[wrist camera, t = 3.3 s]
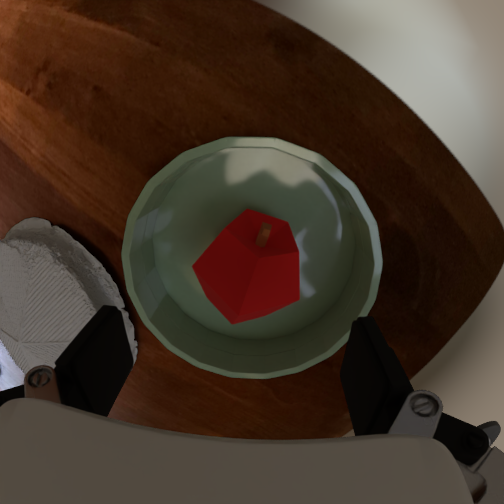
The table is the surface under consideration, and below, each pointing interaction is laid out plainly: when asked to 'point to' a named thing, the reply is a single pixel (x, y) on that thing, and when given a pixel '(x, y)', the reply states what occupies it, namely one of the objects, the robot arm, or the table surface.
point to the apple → (251, 267)
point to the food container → (49, 293)
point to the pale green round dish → (210, 226)
